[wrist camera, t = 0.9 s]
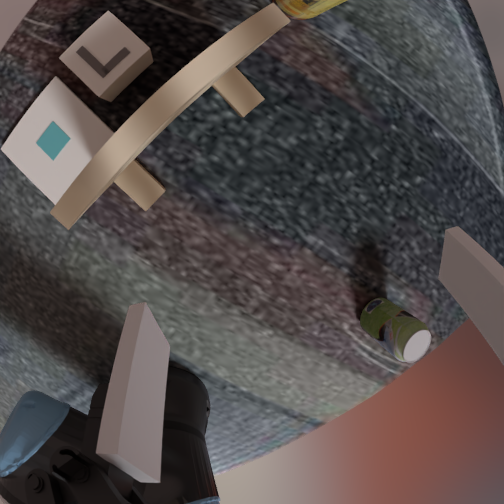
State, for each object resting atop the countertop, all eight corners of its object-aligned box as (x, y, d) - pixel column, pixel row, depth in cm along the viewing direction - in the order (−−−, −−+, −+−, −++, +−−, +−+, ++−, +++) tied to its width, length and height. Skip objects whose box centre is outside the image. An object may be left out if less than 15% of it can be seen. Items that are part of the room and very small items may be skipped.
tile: (58, 204, 30) (56, 206, 29) (3, 148, 25) (0, 149, 25) (116, 134, 29) (115, 134, 28) (57, 77, 24) (55, 75, 24)
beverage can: (359, 333, 48) (399, 381, 37) (352, 299, 45) (399, 347, 34) (390, 315, 48) (433, 358, 38) (386, 281, 45) (436, 322, 35)
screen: (143, 211, 33) (125, 279, 18) (102, 173, 30) (49, 212, 16) (264, 97, 31) (338, 78, 17) (226, 55, 28) (273, 2, 14)
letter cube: (111, 102, 27) (98, 97, 22) (76, 68, 25) (58, 57, 19) (154, 61, 27) (150, 47, 22) (118, 28, 24) (109, 9, 19)
